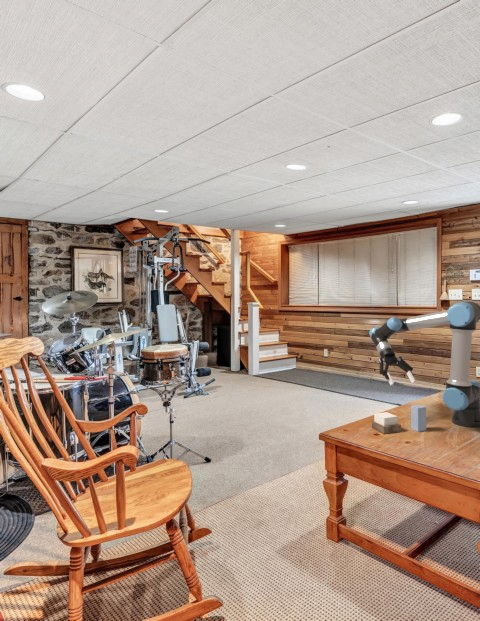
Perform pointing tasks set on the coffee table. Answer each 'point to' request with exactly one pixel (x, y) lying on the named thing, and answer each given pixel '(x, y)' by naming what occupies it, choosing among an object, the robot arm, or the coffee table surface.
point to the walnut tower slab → (386, 428)
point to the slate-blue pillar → (418, 418)
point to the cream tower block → (386, 419)
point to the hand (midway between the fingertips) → (403, 383)
